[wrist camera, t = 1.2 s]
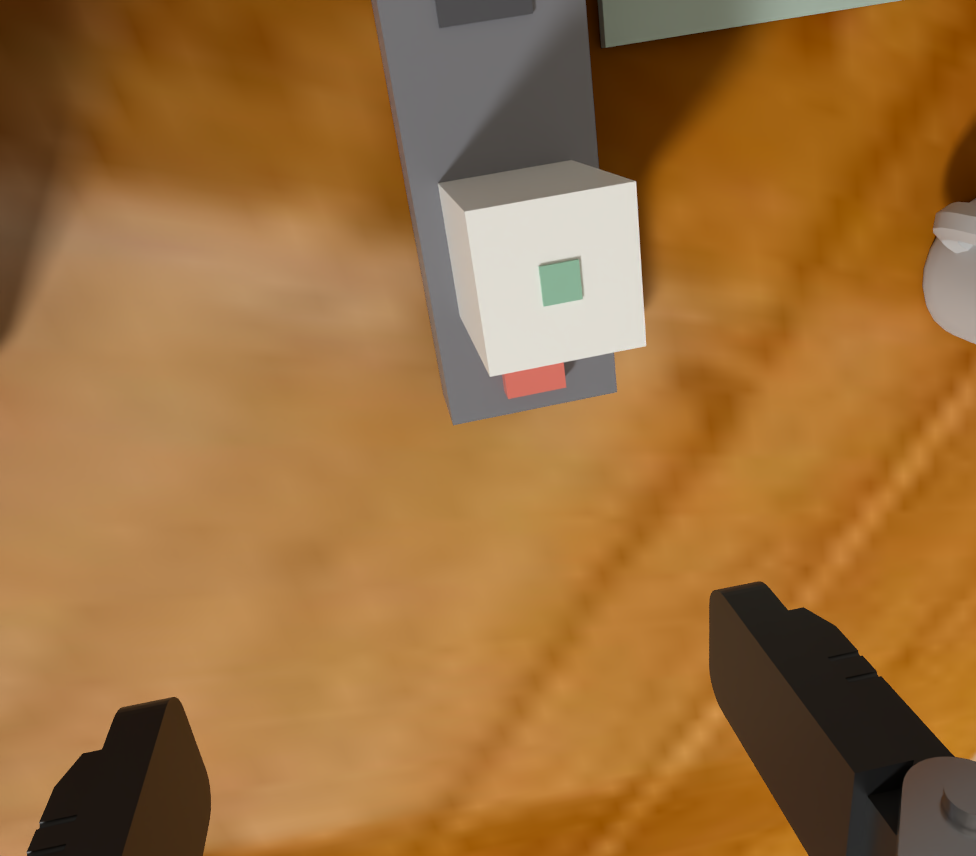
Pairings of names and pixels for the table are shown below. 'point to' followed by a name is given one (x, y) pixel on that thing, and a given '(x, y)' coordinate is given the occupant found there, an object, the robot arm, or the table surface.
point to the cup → (953, 270)
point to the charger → (545, 264)
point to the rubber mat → (700, 16)
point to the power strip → (486, 155)
